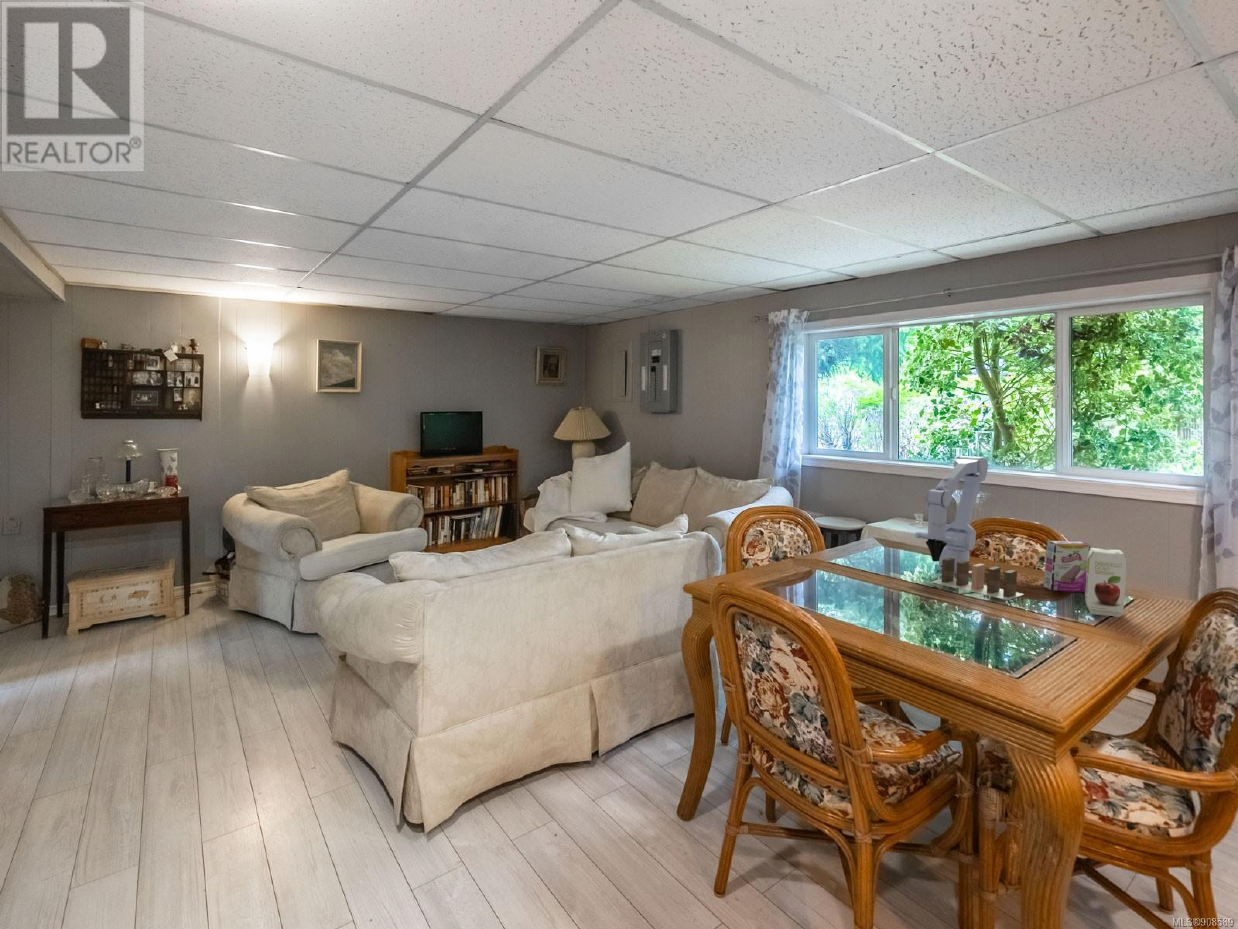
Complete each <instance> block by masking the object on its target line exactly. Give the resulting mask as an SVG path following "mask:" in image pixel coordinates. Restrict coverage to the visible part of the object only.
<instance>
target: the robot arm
mask: <svg viewBox="0 0 1238 929" xmlns="http://www.w3.org/2000/svg"><path fill="white" fill-rule="evenodd" d="M988 469H989V462H988V459H987V458H986V456H972V455H971V456H970V455H968V456H967V455H961V454H960V455H957V456H956V457H955V459H954V461H953V469H952V471H951V472H950V474H949V475H948V476H945V477H943V478H942V479H941V480H940V482H939V483H938V484H937V485H936V486H935V488H933V489H930V490H928V491H927V492H926V495H925V503H926V509H927V511H928V517H927V519H928V520H927V532H921V531H917V532H915V539H924V540H927V541H925V545H926V546H927V548H928V550H929V552H930V556H931V559H932V560H931V561H932V562H936V563H937V562H938V569H937V571H941V572H942V560H943V559H946V558H955V563H954V575H956V574H957V562H960V561H964V560H965V561H969V562H970V551H972V550H973V549H974V548H975V545H976V541H977V540H976V537H977V536H976V535H977V531H976V529H974V527H973V526H971V522H972V517H973V513H974V510H975V505H976V502H977V497H978V494H979V489H980V486H981V483H982V482H984V481H985V480H986V477H987V474H988ZM961 480H962V481H963V483H964V485H963V487H962V488H963V489H962V492H961V496H960V499H959V504H958V507H957V511H956V514H955V515H956V516H955V519H954V521H952V522H951V523H949V524H947V519H948V518H947V515H948V513H947V511H948V507H949V506H950V504H951V502H952V499H953V494H954V493H955V492H956V491H957V490H958V488H959V482H960V481H961ZM969 574H972V570H969Z"/></svg>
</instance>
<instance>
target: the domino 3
mask: <svg viewBox="0 0 1238 929" xmlns="http://www.w3.org/2000/svg"><path fill="white" fill-rule="evenodd" d="M985 568H986V564H984V563H976V564H973V565H971V571H972V573H971V582H972V583H971V589H974V590H978V589H981V588H984V585H985V571H986V570H985Z"/></svg>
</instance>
